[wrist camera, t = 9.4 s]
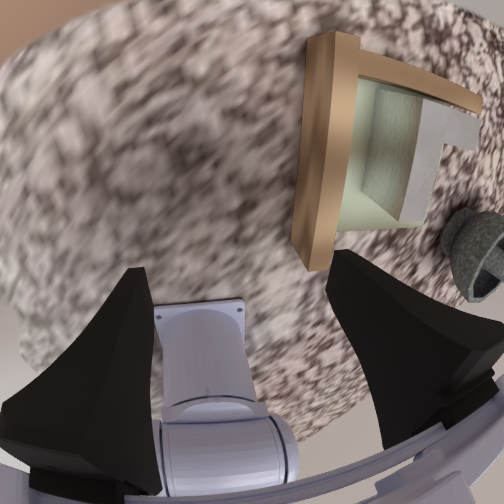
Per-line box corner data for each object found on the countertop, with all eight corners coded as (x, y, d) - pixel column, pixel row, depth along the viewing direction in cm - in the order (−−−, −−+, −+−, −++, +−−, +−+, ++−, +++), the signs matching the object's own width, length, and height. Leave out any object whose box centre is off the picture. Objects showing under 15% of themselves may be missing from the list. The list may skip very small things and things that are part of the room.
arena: (417, 231, 25) (442, 254, 22) (290, 240, 22) (308, 271, 19) (449, 80, 17) (483, 88, 13) (307, 38, 14) (335, 31, 11)
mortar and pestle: (415, 261, 27) (484, 341, 18) (454, 183, 23) (544, 249, 13) (463, 269, 31) (517, 329, 21) (494, 208, 26) (559, 262, 16)
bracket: (375, 88, 16) (423, 98, 12) (435, 105, 17) (481, 120, 13) (360, 191, 21) (398, 222, 17) (418, 192, 22) (456, 220, 18)
